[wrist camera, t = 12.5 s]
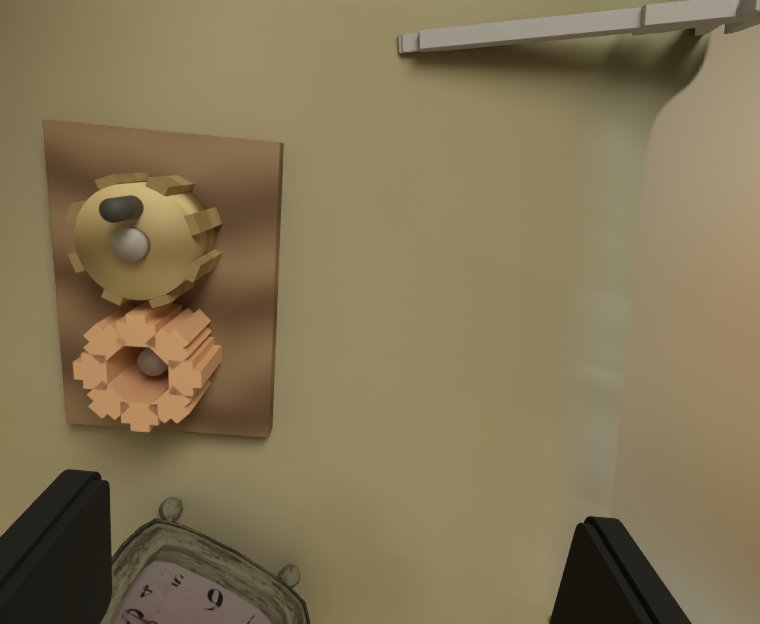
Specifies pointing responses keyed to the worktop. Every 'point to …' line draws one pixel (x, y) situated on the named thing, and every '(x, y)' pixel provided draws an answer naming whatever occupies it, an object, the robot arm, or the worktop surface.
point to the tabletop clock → (195, 580)
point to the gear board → (216, 290)
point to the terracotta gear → (125, 379)
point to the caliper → (590, 25)
